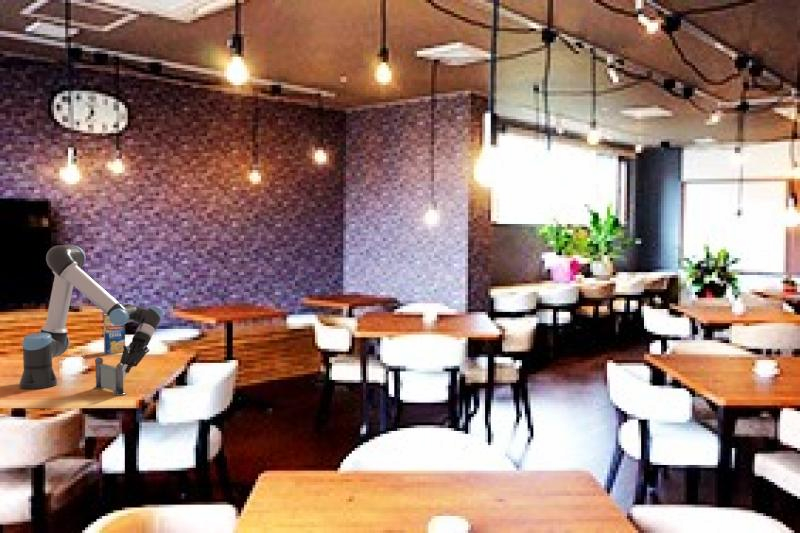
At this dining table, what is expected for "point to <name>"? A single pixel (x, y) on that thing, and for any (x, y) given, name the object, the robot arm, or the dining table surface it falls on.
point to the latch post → (119, 381)
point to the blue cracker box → (113, 336)
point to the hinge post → (98, 372)
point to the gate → (108, 376)
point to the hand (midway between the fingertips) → (120, 378)
